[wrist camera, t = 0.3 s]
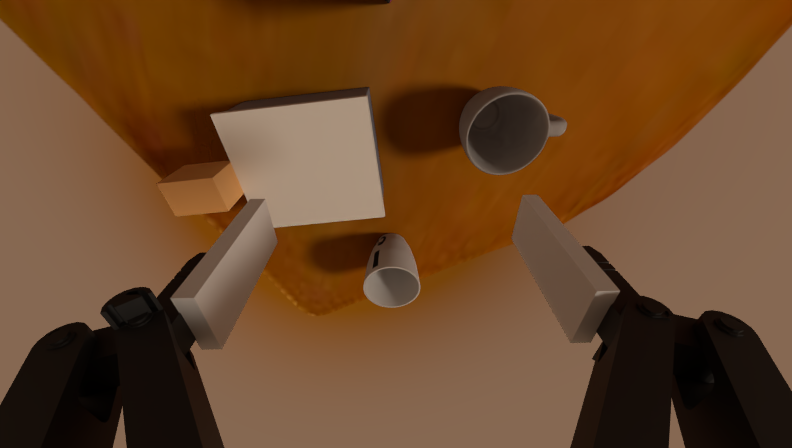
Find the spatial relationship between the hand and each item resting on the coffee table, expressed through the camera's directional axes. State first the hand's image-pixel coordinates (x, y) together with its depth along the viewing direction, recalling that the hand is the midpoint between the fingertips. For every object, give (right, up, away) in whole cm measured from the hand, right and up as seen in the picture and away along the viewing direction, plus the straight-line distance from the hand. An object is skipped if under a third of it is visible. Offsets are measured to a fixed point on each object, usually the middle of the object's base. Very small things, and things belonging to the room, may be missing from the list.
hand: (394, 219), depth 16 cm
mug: (+13, +14, +24) cm, 31 cm away
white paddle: (-13, +6, +20) cm, 25 cm away
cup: (-1, -4, +35) cm, 36 cm away
